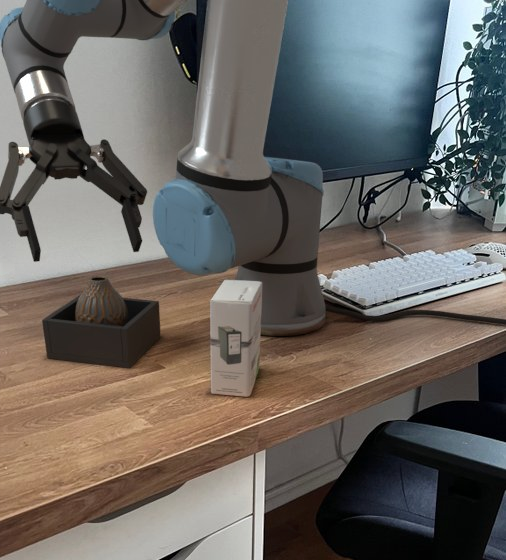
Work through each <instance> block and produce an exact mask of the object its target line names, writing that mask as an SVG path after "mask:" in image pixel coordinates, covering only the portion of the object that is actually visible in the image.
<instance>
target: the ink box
mask: <svg viewBox="0 0 506 560" xmlns="http://www.w3.org/2000/svg"><path fill="white" fill-rule="evenodd" d="M209 308H210V309H209V311H210V312H209V315H210V318H209V319H210V320H209V326H210V327H209V328H210V329H209V331H210V336H209V337H210V340H209V341H210V393H211V394H213V395H223V396H235V397H245V398H247V397H251V395H252V392H253V388H254V386H255V383H256V380H257V378H258V373H259V371H260V356H261V354H260V353H261V335H260V333H261V309H262V282H259V281H244V280H235V279H224V280H223V281H222V283H221V284H220V286H219V288H218V289H217V290H216V292H215V293H214V295H213V296H212V298H211V299H210V300H209Z"/></svg>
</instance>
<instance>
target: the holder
mask: <svg viewBox="0 0 506 560" xmlns="http://www.w3.org/2000/svg"><path fill="white" fill-rule="evenodd" d="M80 295H81V294H79V295H78V296H76V297H74V298H73V299H71V300H70V301H68V302H67V303H65V304H64V305H62V306H60V307H59V308H58V309H56V310H54V311H53V312H52V313H50V314H49V315H47V316H46V317H44V318H42V320H41V321H42V322H41V323H42V332H43V339H44V345H45V353H46V358H47V359H50V360H58V361H69V362H76V363H83V364H93V365H99V366H101V365H102V366H108V367H109V366H110V367H117V368H125V369H131V367H132V366H133V365H134V364H136V362H137V361H138V360H139V359H140V358H141V357H142V356H143V355H144V354H145V353H146V352H148V350H149V349H150V348H151V347H153V345H154V344H156V342H157V341H159V339H160V338H161V337H162V336H161V317H160V316H161V315H160V301H159V300H151V299H140V298H130V297H122V298H123V300H124V302H125V304H126V307H127V311H128V323H127V324H126V325H124V326H114V325H105V324H95V323H86V322H77V321H76V317H75V311H76V305H77V301H78V299H79V297H80Z"/></svg>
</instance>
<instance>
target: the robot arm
mask: <svg viewBox="0 0 506 560" xmlns="http://www.w3.org/2000/svg"><path fill="white" fill-rule="evenodd" d="M185 2H187V0H26V1H25V3H24V6H23V7H21V6H20V7H17V8H14V9H11V10H10V12H9V13H8V14H5V15H4V16H3V17H2V18H1V20H0V47H1V54H2V57H3V59H4V62H5V65H6V69H7V72H8V75H9V79H10V82H11V86H12V88H13V92H14V94H15V98H16V102H17V106H18V110H19V113H20V116H21V120H22V124H23V127H24V131H25V135H26V138H27V142H28V146H19V144H18V143H17V142H15V141H10V142H8V147H7V148H8V149H7V151H8V152H7V159H8V161H7V164H6V167H5V170H4V173H3V176H2V179H1V183H0V215H5V214H8V215H10V216H11V219H12V220H13V221H14V225H15V228H16V231H17V232H16V233H17V235H18V236H19V237H20V238H24V237H26V240H27V243H28V246H29V249H30V253H31V256H32V260H33V261H32V262H34V263H37V262H40V261H41V252H42V248H41V246H40V241H39V238H38V235H37V231H36V228H35V224H34V220H33V216H32V213H31V209H30V206H29V205H30V203H31V202H32V200H33V198H35V196H36V194H37V193H38V192H39V190H40V189H41V187H42V186H43V185H44V184H45V183H46V182H47V180H48V179H49V177H50V178H54V180H56V181H57V180H62V179H70V180H74V179H78V177H80V178H81V179H82V180H84V181H85V182H87V183H91V184H93V185H94V186H95V187H97V188H98V189H99V190H101V191H102V192H103V193H105V194H106V195H107V196H109V197H110V198H111V199H112V200H114V201H115V202H117V203H118V204H119V205H120V206H122V207H121V211H120V213H121V216H122V219H123V222H124V226H125V229H126V232H127V235H128V238H129V242H130V246H131V248H132V252H133V253H139V252H140V249H141V247H142V243H143V238H142V235H141V231H140V228H141V225H142V222H143V221H142V219H143V217H142V214H141V211H140V207H139V206H142V205H144V204H145V200H146V197H147V195H148V190H147V188H146V187H145V186H144V185H143V184H142V183H141V182H140V180H139V179H138V178H137V177H136V176H135V175H134V174H133V172H131V170H130V169H129V168H128V167H127V166H126V165H125V163H124V162H122V160H121V159H120V158H119V157H118V156H117V155H116V154H115V152H114V151H113V149H112V146H111V144H110V142H109V140H107V139H105V138H104V139H101V140H100V143H99V144H93V145H92V144H91V145H90V144H89V143H88V142H87V141H86V139H85V136H84V131H83V129H82V125H81V122H80V119H79V115H78V113H77V110H76V105H75V103H74V99H73V95H72V93H71V90H70V87H69V83H68V79H67V76H66V73H65V68H64V66H65V63H66V61H67V59H68V57H69V56H70V55H71V53H72V52H73V49H74V47H75V46H76V44H77V42H78V40H79V39H80V38H82V37H86V38H109V39H110V38H111V39H113V38H114V39H130V40H138V41H149V40H154V39H155V40H156V39H162V38H163V37H165V36H166V35H167V34H168V33H169V32H170V31H171V28H172V25H173V23H174V22H175V18H176V10H177V9H178V8H180V7H182V5H183V4H184V3H185ZM288 5H289V0H207V1H206V9H205V11H206V12H205V19H204V28H203V36H202V38H203V39H202V46H201V47H202V48H201V55H200V56H201V57H200V66H199V74H198V84H197V93H196V99H195V100H196V102H195V110H194V118H193V119H194V120H193V129H192V138H191V141H190V142H189V143H188V144H187V145H185V146H184V147H183V148H182V149H180V150H179V151H178V153H177V159H176V169H175V178H174V179H173V180H168V181H167V182H166V183H165V184H164V185H163V186H162V188H161V189H159V190H158V191H157V193H156V195H155V197H154V201H153V206H152V221H153V227H154V231H155V235H156V238H157V240H158V242H159V244H160V246H161V247H162V248H163V250H164V253H165V255H166V256H167V257H168V259H169V260H170V261H171V262H172V263H173V264H174V265H175V266H176V267H177V268H179V269H180V270H182V271H184V272H185V273H187V274H190V275H194V276H200V277H201V276H209V275H212V274H224V273H226V272H227V271H229V270H231V269H233V268H236V267H237V271H236V275H235V278H234V280H244V281H259V282H262V309H261V333H260V336H270V337H271V336H272V337H290V336H299V335H304V334H308V333H312V332H315V331H317V330H319V329H321V328H322V327H323V326H324V325H325V323H326V318H327V317H326V316H327V315H326V314H327V312H328V313H333V314H339V315H344V316H348V317H352V318H354V319H358V320H363V321H367V322H383V321H391V320H394V319H398V318H402V317H409V316H429V317H431V316H432V317H440V318H448V319H455V320H463V321H471V322H481V323H490V324H495V325H496V324H497V325H505V326H506V318H499V317H498V318H497V317H491V316H483V315H482V316H481V315H475V314H465V313H457V312H450V311H442V310H434V309H433V310H432V309H407V310H402V311H397V312H393V313H389V314H382V315H370V314H364V313H360V312H357V311H353V310H349V309H345V308H340V307H335V306H330V305H326V303H325V298H324V295H323V290H322V287H321V282H320V279H319V275H318V259H319V257H318V256H319V244H320V232H321V231H320V230H321V219H322V205H323V196H324V188H323V187H324V186H323V184H324V183H323V182H324V177H323V176H324V175H323V170H322V168H321V166H320V165H319V164H318V163H316V162H313V161H305V160H297V159H289V158H280V157H273V156H272V157H271V156H265V155H264V149H265V148H264V147H265V143H266V137H267V131H268V123H269V118H270V112H271V105H272V99H273V94H274V88H275V82H276V77H277V70H278V65H279V58H280V54H281V53H280V52H281V47H282V39H283V35H284V28H285V23H286V17H287V10H288ZM92 157H94V158H96V160H97V161H96V160H95V159H93V158H92ZM27 159H29V160H30V161H31V162H32V163H33V164H34V165H35V167H34V169H33V170H32V172H31V173H30V175H29V176H28V177H27V179H26V180H25V181H24V183H23V185H22V186H21V187H20V189H19V190H18V192H17V193H16V195H15V196H14V198H13V199H11V198H12V195H13V191H14V189H15V185H16V181H17V178H18V175H19V172H20V171H19V169H20V167H22V166H23V165H24V164H25V163H26V160H27ZM98 163H99V164H100V163H101V164H102V166H103V167H104V169H103V168H102V167H100V166H99V165H98Z"/></svg>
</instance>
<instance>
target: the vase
mask: <svg viewBox="0 0 506 560" xmlns="http://www.w3.org/2000/svg"><path fill="white" fill-rule="evenodd" d="M79 295H80V297H79V299H78V301H77V305H76V311H75V317H76V321H77V322H86V323H95V324H105V325H114V326H124V325H126V324H127V323H128V311H127V307H126V304H125V302H124V300H123V298H124V297H122V294H120V292H119V291H117V289H116V288H115V287H114V286H113V285H112V283H111V281H110V280H109V278H108V277H107V276H104V275H94V276H91V277H89V278H88V282H87V284H86V286H85V287H84V289H83V291H82V292H81V294H79Z"/></svg>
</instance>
